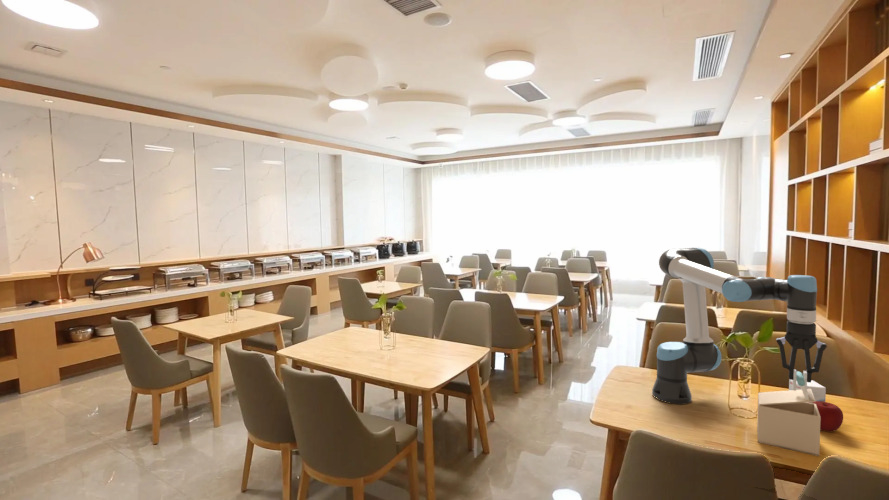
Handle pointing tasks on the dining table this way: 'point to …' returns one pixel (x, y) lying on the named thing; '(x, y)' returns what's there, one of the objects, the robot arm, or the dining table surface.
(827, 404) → the apple
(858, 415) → the dining table surface
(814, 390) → the ink box
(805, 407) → the carton
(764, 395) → the flap
